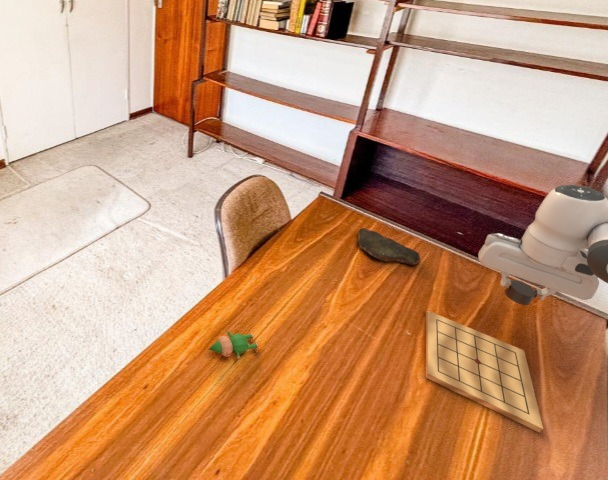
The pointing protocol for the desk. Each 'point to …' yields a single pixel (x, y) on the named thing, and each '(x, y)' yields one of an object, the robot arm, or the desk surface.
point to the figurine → (233, 344)
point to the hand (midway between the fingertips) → (520, 291)
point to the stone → (385, 248)
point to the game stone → (520, 292)
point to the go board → (481, 369)
